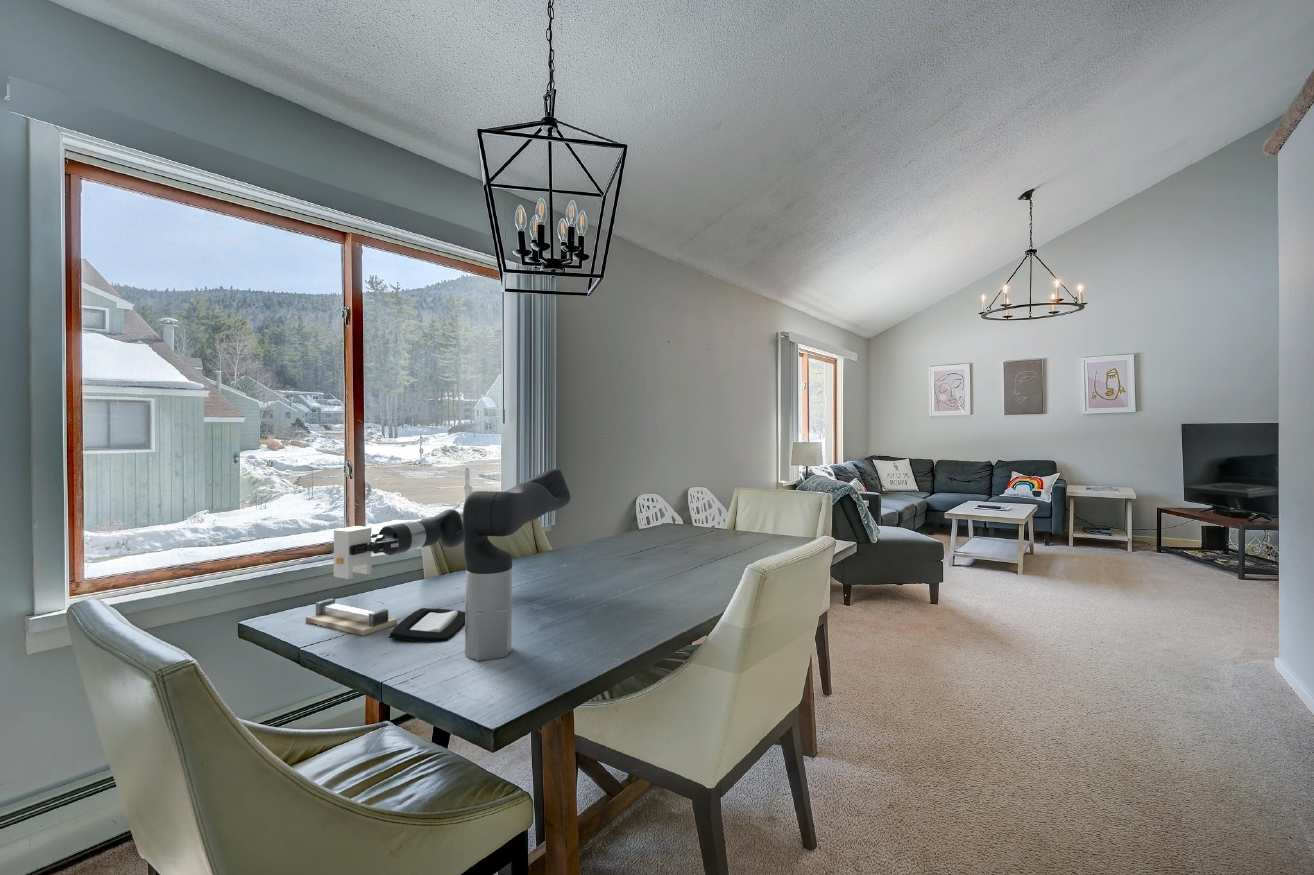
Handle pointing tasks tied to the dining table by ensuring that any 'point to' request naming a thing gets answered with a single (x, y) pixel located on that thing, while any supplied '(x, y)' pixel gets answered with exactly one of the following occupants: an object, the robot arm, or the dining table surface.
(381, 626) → the mounting board
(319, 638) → the dining table surface
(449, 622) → the light switch
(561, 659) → the dining table surface
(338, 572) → the block
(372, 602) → the dining table surface
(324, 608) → the rail
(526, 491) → the robot arm
